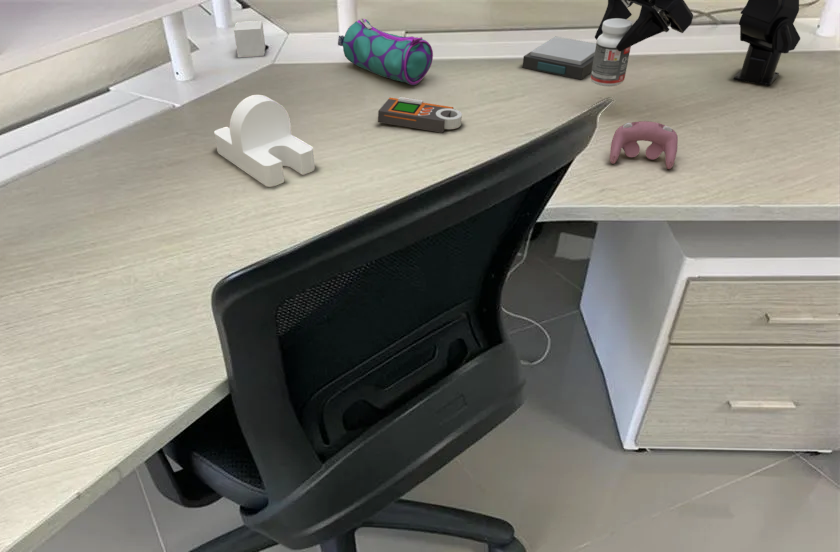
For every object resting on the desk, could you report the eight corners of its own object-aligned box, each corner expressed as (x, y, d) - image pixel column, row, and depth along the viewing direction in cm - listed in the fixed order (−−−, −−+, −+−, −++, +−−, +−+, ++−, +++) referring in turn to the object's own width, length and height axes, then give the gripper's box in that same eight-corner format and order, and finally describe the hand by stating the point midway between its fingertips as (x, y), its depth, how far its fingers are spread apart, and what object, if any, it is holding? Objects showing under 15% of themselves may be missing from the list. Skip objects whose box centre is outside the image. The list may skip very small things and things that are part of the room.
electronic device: (457, 121, 123) (376, 108, 127) (455, 137, 125) (376, 123, 129) (466, 106, 127) (388, 94, 132) (465, 121, 129) (388, 109, 134)
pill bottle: (625, 87, 122) (637, 28, 115) (591, 87, 123) (600, 28, 116) (622, 75, 126) (633, 17, 119) (589, 74, 127) (598, 17, 121)
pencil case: (338, 67, 153) (336, 21, 146) (369, 56, 157) (368, 11, 150) (404, 92, 140) (404, 43, 134) (435, 80, 144) (437, 32, 138)
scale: (551, 49, 154) (553, 34, 152) (608, 59, 147) (611, 44, 145) (521, 68, 146) (523, 52, 144) (580, 80, 140) (582, 64, 137)
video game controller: (671, 169, 113) (680, 124, 112) (674, 169, 109) (684, 123, 107) (606, 163, 116) (615, 119, 114) (607, 163, 112) (616, 117, 110)
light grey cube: (265, 47, 165) (262, 20, 162) (263, 55, 161) (260, 28, 157) (240, 48, 166) (236, 21, 162) (237, 57, 161) (233, 30, 157)
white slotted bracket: (268, 188, 113) (260, 124, 106) (215, 151, 124) (204, 91, 118) (317, 169, 117) (312, 106, 110) (261, 135, 129) (253, 76, 122)
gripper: (618, -81, 117) (551, 0, 122) (696, -60, 103) (618, 31, 108) (648, -37, 124) (583, 39, 128) (725, -11, 110) (650, 72, 115)
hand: (606, 44), depth 120 cm, fingers closed on pill bottle, 6 cm apart
